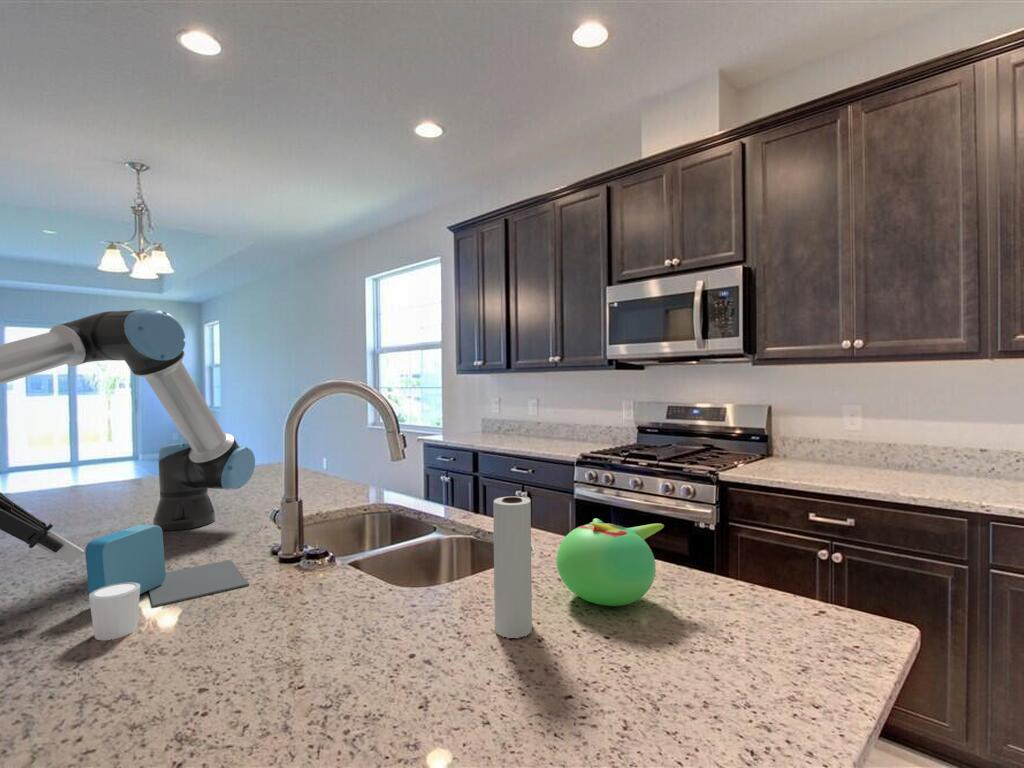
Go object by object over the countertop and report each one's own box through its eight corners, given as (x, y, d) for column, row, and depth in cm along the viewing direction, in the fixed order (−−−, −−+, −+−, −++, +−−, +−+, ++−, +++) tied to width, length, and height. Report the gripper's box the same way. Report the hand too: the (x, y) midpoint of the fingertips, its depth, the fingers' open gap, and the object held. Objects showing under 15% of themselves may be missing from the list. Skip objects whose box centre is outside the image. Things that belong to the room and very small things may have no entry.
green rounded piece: (539, 600, 100) (538, 520, 99) (592, 574, 112) (591, 503, 112) (625, 631, 87) (625, 540, 87) (674, 598, 100) (673, 519, 100)
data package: (149, 580, 110) (144, 522, 110) (166, 582, 109) (162, 523, 108) (89, 607, 99) (83, 542, 98) (108, 609, 98) (102, 543, 97)
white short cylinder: (150, 627, 91) (149, 585, 91) (105, 645, 85) (104, 601, 85) (125, 619, 94) (124, 579, 94) (80, 637, 88) (79, 594, 87)
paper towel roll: (505, 643, 84) (503, 505, 83) (488, 627, 89) (487, 497, 89) (545, 632, 87) (544, 499, 87) (527, 618, 93) (525, 492, 92)
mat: (152, 607, 99) (152, 605, 99) (145, 578, 113) (145, 576, 113) (248, 585, 108) (248, 583, 108) (230, 561, 123) (230, 559, 123)
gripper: (-71, 489, 92) (60, 565, 103) (-91, 503, 82) (56, 586, 92) (-28, 455, 95) (95, 532, 106) (-43, 464, 85) (95, 548, 95)
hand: (77, 557), depth 99 cm, fingers closed
